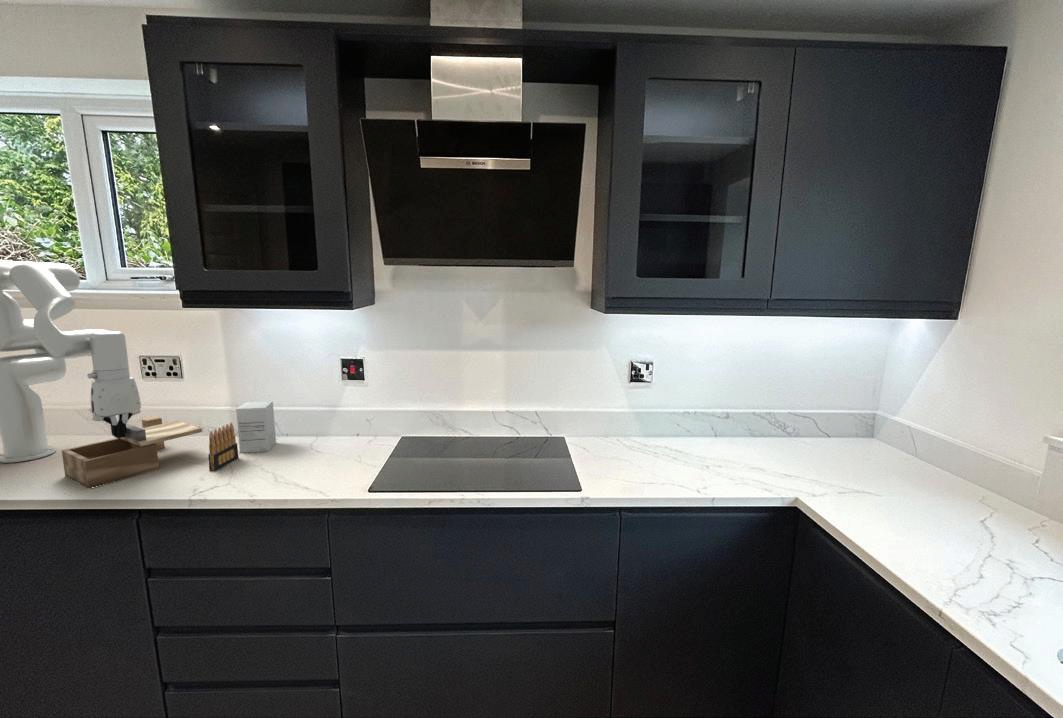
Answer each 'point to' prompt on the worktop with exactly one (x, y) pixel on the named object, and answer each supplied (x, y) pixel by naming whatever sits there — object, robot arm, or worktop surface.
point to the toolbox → (108, 461)
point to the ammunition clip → (222, 448)
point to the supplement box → (256, 426)
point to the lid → (158, 433)
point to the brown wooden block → (152, 422)
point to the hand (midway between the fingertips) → (119, 436)
